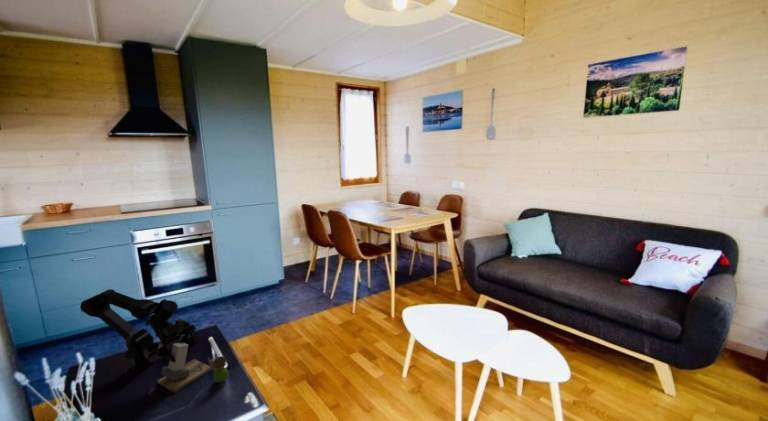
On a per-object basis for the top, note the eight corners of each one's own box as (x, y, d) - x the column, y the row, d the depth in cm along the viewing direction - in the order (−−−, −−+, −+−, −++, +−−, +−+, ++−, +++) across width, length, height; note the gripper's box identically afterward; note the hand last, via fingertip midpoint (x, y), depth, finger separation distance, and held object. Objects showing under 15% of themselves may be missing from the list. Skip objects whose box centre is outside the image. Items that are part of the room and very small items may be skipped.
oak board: (158, 383, 136) (157, 380, 135) (194, 361, 148) (194, 358, 148) (175, 393, 130) (174, 390, 129) (211, 369, 142) (211, 366, 142)
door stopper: (180, 351, 156) (175, 327, 153) (173, 347, 159) (168, 324, 157) (199, 341, 163) (195, 318, 161) (192, 338, 167) (188, 315, 164)
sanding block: (161, 374, 136) (167, 343, 137) (176, 370, 141) (182, 340, 142) (172, 380, 132) (179, 348, 133) (187, 376, 137) (193, 345, 138)
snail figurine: (209, 382, 134) (204, 355, 132) (225, 374, 139) (221, 347, 137) (214, 389, 131) (210, 361, 128) (231, 380, 135) (227, 353, 133)
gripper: (141, 328, 128) (162, 362, 125) (189, 306, 144) (210, 336, 140) (134, 342, 133) (155, 375, 130) (182, 319, 149) (201, 348, 146)
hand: (182, 357), depth 136 cm, fingers closed on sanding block, 5 cm apart
